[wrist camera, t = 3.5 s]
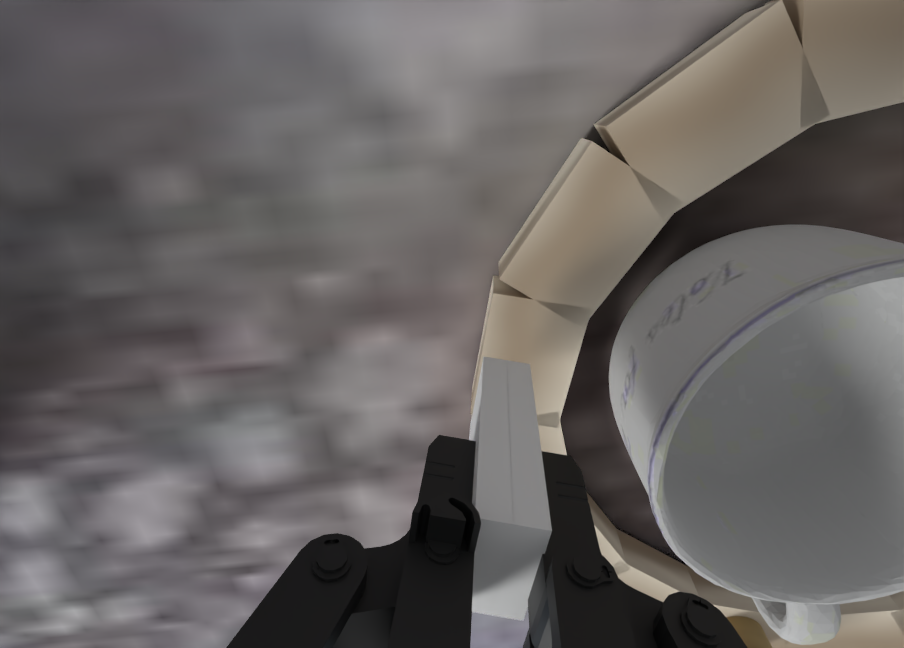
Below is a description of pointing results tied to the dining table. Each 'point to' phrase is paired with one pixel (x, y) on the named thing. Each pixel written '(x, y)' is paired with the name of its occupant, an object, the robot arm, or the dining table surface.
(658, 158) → the ring
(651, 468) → the teacup
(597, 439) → the dining table surface
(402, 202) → the dining table surface
